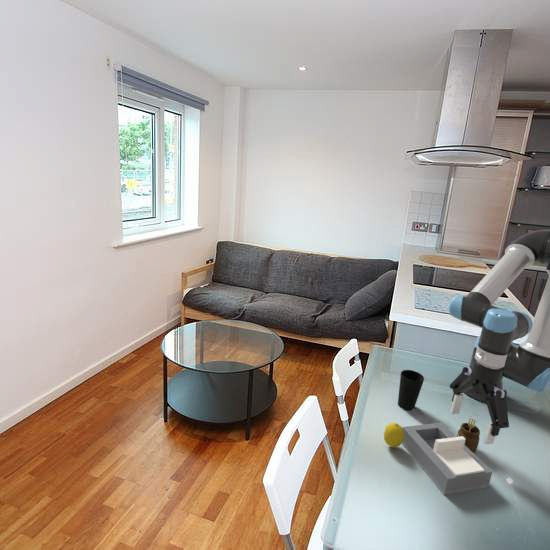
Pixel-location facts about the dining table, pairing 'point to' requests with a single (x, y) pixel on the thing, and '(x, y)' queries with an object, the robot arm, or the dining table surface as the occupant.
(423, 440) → the socket block
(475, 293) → the robot arm
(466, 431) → the utensil holder
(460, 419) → the dining table surface
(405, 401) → the cup
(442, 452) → the panel
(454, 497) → the dining table surface
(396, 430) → the lemon
